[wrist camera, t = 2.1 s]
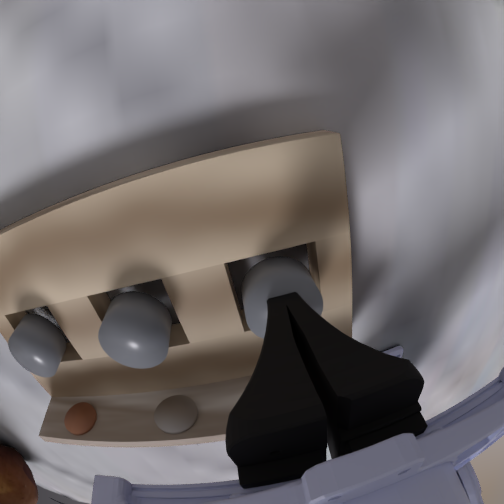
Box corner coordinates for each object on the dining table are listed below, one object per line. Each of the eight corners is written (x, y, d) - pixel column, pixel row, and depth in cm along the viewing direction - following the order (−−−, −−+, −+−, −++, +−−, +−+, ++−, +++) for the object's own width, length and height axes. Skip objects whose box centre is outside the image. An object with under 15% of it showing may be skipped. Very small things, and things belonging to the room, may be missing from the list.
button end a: (313, 306, 16) (325, 329, 14) (249, 322, 16) (254, 348, 14) (307, 248, 14) (320, 269, 12) (233, 266, 14) (237, 290, 12)
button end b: (76, 353, 16) (67, 376, 14) (40, 357, 15) (30, 377, 14) (47, 310, 14) (33, 331, 12) (12, 317, 14) (-1, 337, 12)
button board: (341, 338, 20) (373, 403, 14) (64, 386, 19) (47, 442, 14) (323, 129, 13) (389, 145, 8) (-26, 243, 13) (-77, 290, 8)
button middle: (181, 337, 16) (178, 363, 14) (125, 347, 16) (118, 371, 14) (157, 284, 14) (150, 309, 12) (97, 298, 14) (85, 322, 12)
